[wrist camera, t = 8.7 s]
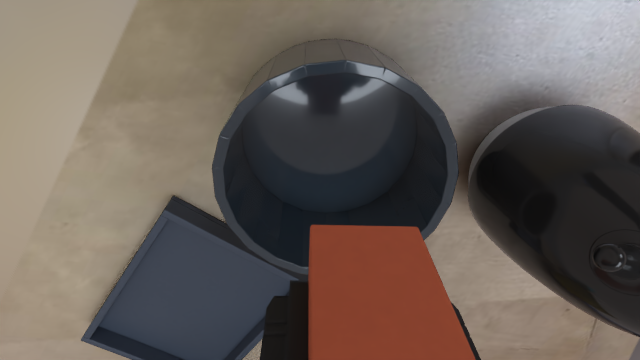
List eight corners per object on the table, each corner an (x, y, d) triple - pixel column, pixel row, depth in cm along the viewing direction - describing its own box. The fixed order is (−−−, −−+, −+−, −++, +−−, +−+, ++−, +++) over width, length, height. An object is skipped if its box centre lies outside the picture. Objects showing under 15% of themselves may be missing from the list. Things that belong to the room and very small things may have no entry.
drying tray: (216, 371, 39) (212, 390, 37) (91, 322, 34) (80, 340, 33) (313, 270, 32) (313, 287, 30) (173, 195, 28) (164, 209, 26)
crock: (241, 212, 29) (223, 276, 23) (228, 32, 23) (199, 53, 16) (406, 216, 30) (431, 279, 23) (440, 42, 23) (487, 65, 17)
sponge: (305, 346, 15) (304, 505, 10) (310, 223, 12) (310, 369, 7) (392, 347, 15) (428, 503, 10) (418, 225, 12) (482, 370, 7)
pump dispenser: (515, 57, 24) (780, 161, 10) (619, 132, 26) (934, 288, 13) (419, 178, 28) (521, 362, 15) (518, 231, 31) (679, 427, 17)
